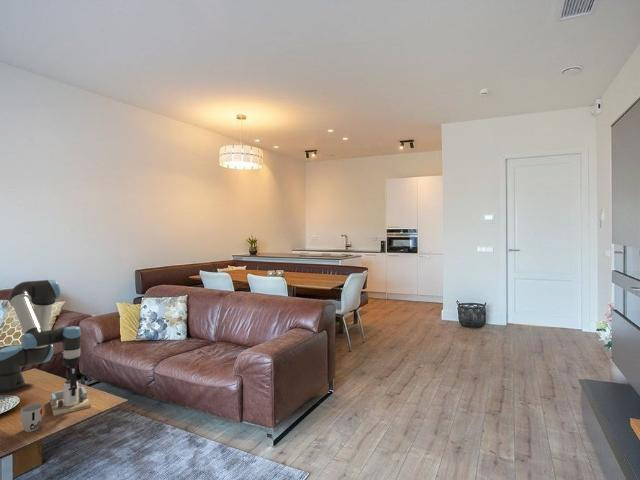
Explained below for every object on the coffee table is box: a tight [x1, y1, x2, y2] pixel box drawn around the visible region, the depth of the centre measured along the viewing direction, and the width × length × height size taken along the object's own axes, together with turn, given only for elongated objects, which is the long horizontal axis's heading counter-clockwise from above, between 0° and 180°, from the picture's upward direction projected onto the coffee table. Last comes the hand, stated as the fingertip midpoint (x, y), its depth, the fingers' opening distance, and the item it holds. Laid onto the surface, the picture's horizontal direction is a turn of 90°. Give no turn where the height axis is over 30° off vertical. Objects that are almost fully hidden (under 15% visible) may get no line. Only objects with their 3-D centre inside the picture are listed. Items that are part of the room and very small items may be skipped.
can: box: [63, 380, 79, 407], centre depth 196 cm, size 6×6×12 cm
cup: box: [20, 403, 44, 433], centre depth 174 cm, size 8×8×10 cm
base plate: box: [49, 393, 92, 417], centre depth 199 cm, size 20×16×4 cm
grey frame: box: [50, 385, 88, 405], centre depth 203 cm, size 11×15×3 cm
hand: (71, 397), depth 196 cm, fingers open, 13 cm apart
